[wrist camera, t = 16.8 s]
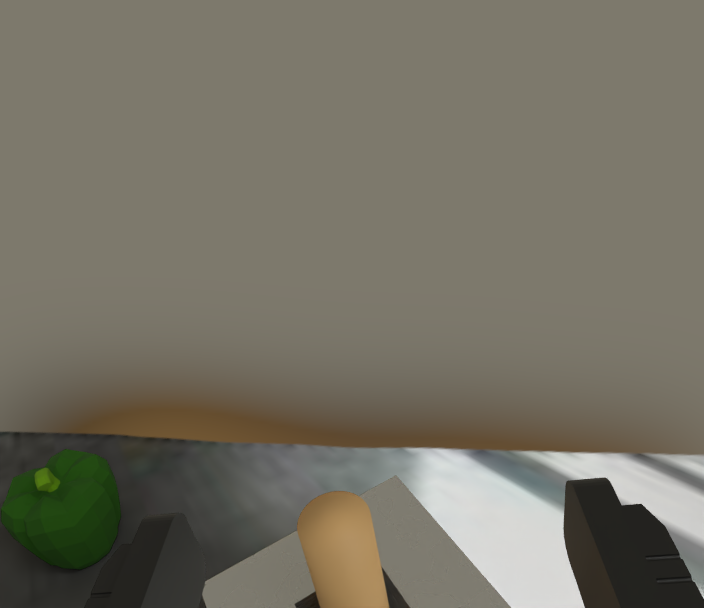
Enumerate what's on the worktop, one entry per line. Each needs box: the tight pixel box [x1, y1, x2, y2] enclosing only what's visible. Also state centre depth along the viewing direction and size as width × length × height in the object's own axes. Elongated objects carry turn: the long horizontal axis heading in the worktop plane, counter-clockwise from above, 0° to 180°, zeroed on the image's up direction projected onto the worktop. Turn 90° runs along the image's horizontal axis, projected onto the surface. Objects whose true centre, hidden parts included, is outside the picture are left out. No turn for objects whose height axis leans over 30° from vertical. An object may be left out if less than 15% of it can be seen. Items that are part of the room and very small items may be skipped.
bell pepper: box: [1, 449, 121, 569], centre depth 46 cm, size 8×8×10 cm
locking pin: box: [297, 491, 389, 608], centre depth 33 cm, size 4×4×14 cm
